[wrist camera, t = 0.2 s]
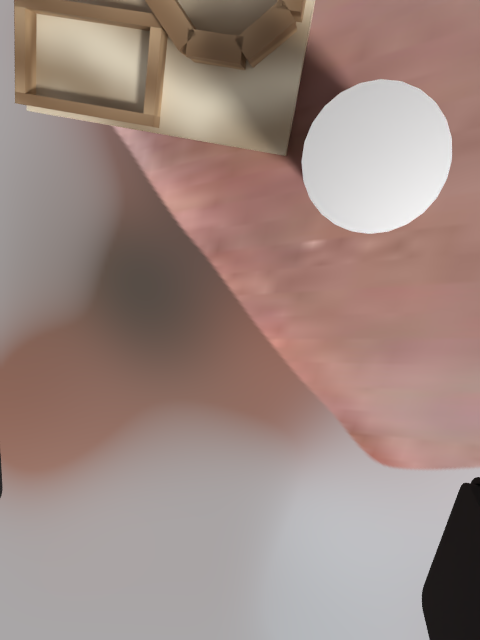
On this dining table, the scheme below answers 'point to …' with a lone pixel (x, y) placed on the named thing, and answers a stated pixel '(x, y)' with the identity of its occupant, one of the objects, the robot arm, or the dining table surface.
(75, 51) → the jig board
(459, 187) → the dining table surface
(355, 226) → the white ribbed cup
